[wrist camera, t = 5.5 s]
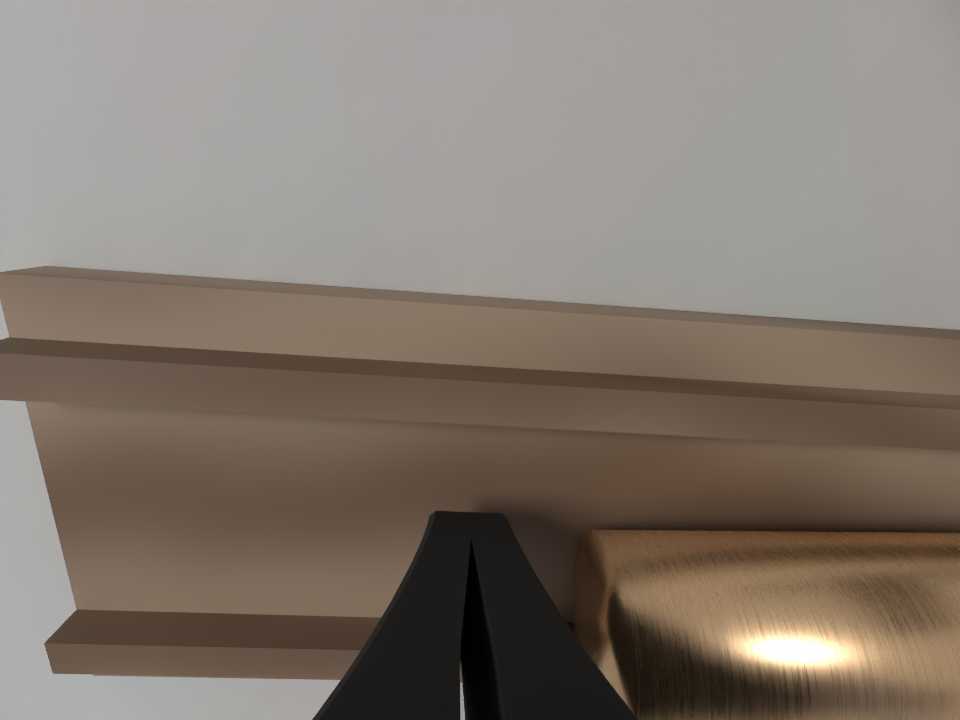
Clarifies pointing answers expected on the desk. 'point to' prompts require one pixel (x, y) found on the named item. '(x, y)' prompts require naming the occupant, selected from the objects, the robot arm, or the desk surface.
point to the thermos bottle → (773, 623)
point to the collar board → (426, 446)
